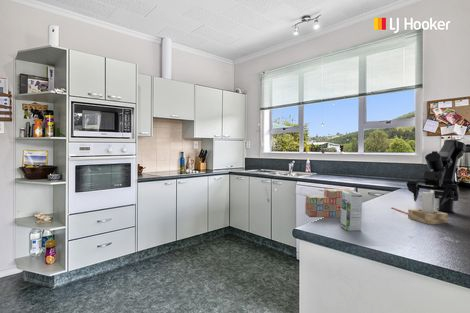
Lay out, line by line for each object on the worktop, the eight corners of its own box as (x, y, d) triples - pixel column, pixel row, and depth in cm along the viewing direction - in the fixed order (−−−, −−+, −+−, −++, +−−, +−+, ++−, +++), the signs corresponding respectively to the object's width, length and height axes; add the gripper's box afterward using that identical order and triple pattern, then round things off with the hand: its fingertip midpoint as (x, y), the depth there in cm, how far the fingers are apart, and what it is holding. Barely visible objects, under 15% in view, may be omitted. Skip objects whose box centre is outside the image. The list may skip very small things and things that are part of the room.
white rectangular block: (423, 218, 117) (424, 191, 117) (433, 220, 114) (434, 192, 114) (421, 220, 115) (422, 192, 114) (430, 222, 112) (431, 193, 112)
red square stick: (391, 208, 137) (391, 207, 137) (392, 208, 137) (393, 207, 137) (409, 215, 123) (409, 214, 123) (411, 215, 123) (411, 214, 123)
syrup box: (339, 226, 104) (340, 190, 104) (353, 226, 105) (354, 190, 104) (347, 231, 99) (348, 193, 98) (361, 230, 99) (363, 193, 99)
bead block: (424, 216, 121) (425, 208, 121) (447, 222, 111) (447, 213, 111) (408, 218, 118) (408, 209, 118) (429, 224, 109) (429, 215, 108)
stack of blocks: (309, 217, 117) (310, 191, 117) (305, 214, 123) (305, 188, 123) (355, 217, 118) (355, 191, 118) (348, 214, 125) (349, 188, 124)
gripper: (408, 163, 124) (398, 188, 117) (459, 165, 109) (451, 194, 103) (413, 178, 129) (404, 203, 123) (462, 182, 114) (455, 211, 108)
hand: (426, 202), depth 114 cm, fingers open, 9 cm apart
